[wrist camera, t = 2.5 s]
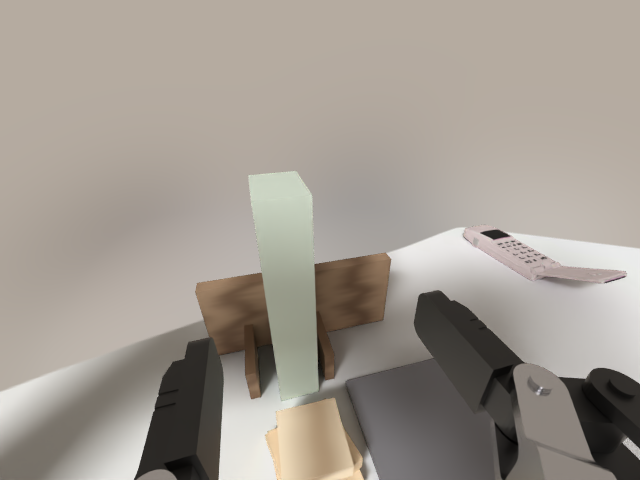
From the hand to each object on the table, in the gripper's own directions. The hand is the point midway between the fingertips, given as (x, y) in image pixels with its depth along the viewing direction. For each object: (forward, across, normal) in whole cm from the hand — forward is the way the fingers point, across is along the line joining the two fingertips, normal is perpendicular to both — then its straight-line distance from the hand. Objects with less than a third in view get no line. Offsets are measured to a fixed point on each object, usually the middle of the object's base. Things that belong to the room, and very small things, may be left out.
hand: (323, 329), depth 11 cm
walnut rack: (+15, -2, +20) cm, 25 cm away
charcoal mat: (+3, -12, +20) cm, 24 cm away
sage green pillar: (+13, 0, +20) cm, 24 cm away
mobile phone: (+24, -41, +21) cm, 52 cm away
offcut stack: (+4, 0, +20) cm, 21 cm away
